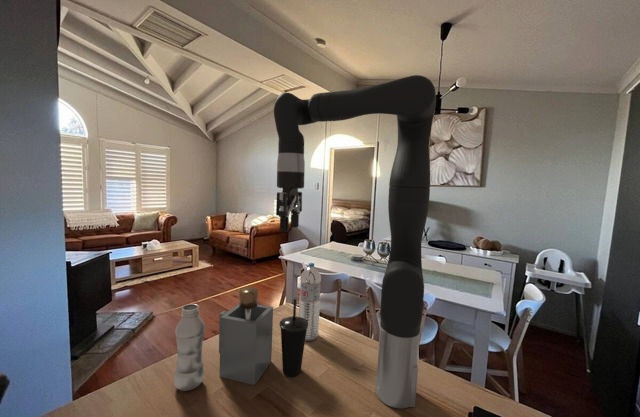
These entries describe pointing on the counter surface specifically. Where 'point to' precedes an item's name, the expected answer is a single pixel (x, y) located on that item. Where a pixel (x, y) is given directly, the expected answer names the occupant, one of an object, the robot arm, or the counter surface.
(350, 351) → the counter surface
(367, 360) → the counter surface
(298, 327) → the drinking cup
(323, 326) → the counter surface
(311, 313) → the water bottle
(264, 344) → the box
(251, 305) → the plunger
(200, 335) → the plastic bottle
